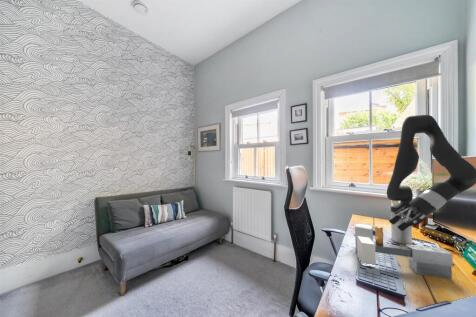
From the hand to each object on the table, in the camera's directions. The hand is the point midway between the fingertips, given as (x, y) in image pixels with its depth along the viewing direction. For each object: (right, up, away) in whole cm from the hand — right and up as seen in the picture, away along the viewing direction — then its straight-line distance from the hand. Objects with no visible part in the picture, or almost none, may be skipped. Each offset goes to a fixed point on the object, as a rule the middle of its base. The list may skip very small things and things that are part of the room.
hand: (394, 225), depth 82 cm
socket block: (-11, -18, +3) cm, 21 cm away
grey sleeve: (+10, -18, -4) cm, 21 cm away
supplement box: (-2, -19, +16) cm, 25 cm away
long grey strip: (-2, -12, 0) cm, 12 cm away
